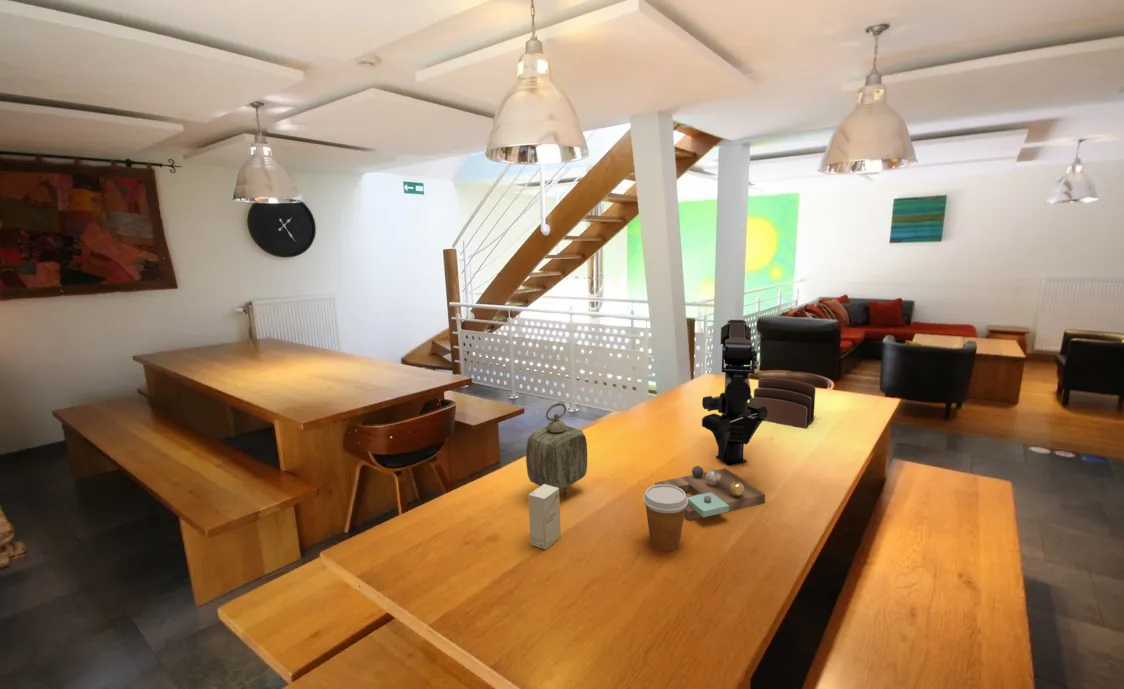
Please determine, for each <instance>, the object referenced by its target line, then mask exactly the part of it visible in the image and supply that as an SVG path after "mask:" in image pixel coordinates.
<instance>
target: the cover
mask: <svg viewBox="0 0 1124 689" xmlns="http://www.w3.org/2000/svg"><path fill="white" fill-rule="evenodd" d="M691 496H692V497H688V496H686V497H687V498H688V505H689V506H690V507H692V508H693V509H694V510H695V511H696V512H698V513H699V514H700V515H701V516H702V517H703V518H706V517H710V516H715V515H720V514H724V513H727V512H728V513H729V512H730V511H729V505H728V504H726V503H725V502H724V501H722V500H721V499H720V498H718V497H717V496H716V495H714V494H713V493H712V492H710V493H705V494H701V495H696V496H693V495H691Z"/></svg>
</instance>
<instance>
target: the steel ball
mask: <svg viewBox="0 0 1124 689" xmlns="http://www.w3.org/2000/svg"><path fill="white" fill-rule="evenodd" d="M716 470H717V469H710V470H708V471H706V472H707V473H706V475H705V480H706V482H707V483H708V484H709V485H711V486H716V485H718V484H719V483H720V482H721V475H720V473H719V472H717V471H716Z"/></svg>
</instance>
